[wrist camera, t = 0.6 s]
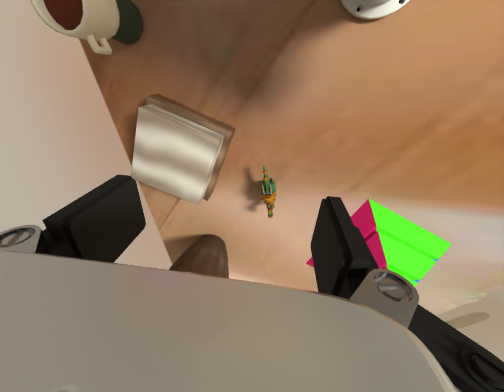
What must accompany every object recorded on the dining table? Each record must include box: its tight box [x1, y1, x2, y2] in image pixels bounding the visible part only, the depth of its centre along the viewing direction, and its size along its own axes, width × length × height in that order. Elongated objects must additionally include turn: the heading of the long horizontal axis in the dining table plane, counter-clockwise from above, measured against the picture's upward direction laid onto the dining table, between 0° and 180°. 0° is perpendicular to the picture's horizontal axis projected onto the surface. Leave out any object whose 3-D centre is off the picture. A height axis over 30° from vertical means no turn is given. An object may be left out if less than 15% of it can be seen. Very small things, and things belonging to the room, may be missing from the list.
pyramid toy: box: [306, 199, 452, 287], centre depth 48 cm, size 25×25×14 cm
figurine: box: [261, 166, 276, 218], centre depth 44 cm, size 3×12×8 cm, turn 9°
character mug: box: [31, 0, 142, 55], centre depth 30 cm, size 11×7×13 cm, turn 16°
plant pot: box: [169, 235, 229, 278], centre depth 52 cm, size 15×15×16 cm
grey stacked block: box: [131, 94, 235, 205], centre depth 42 cm, size 16×16×8 cm
